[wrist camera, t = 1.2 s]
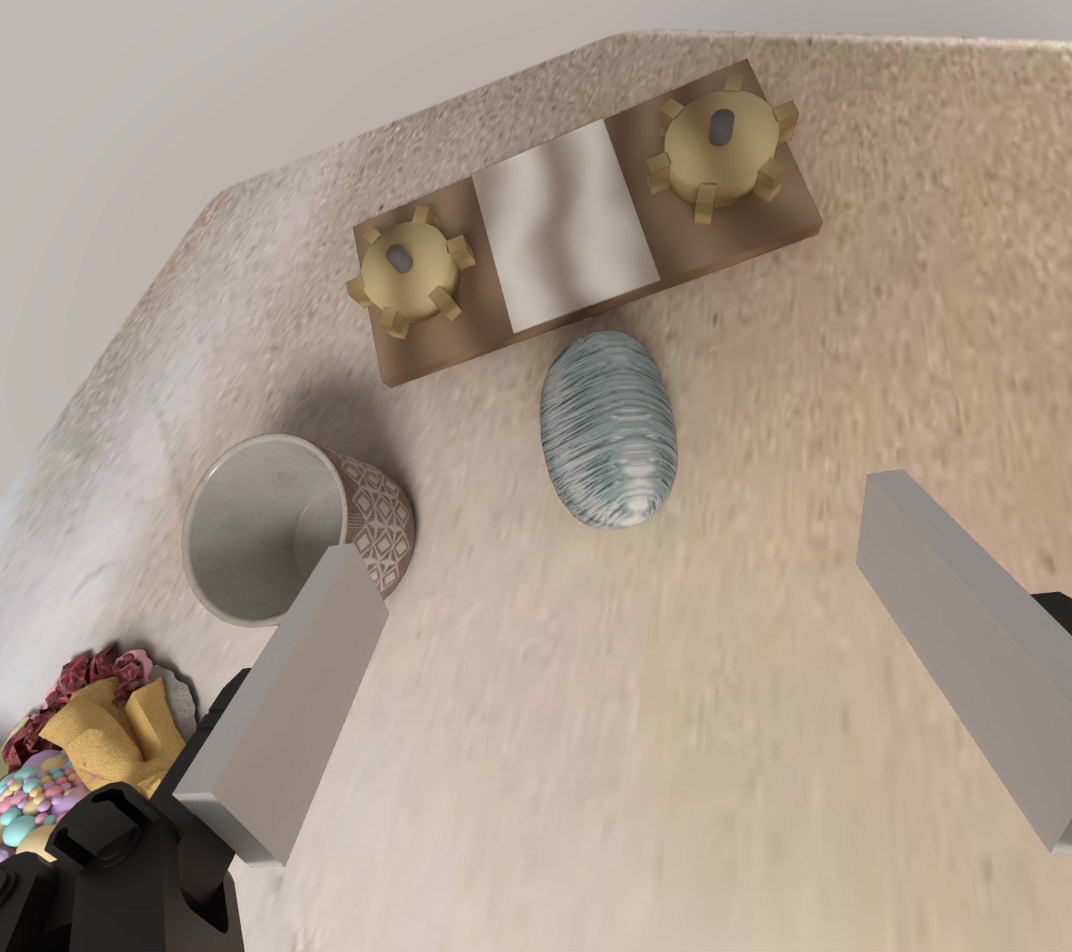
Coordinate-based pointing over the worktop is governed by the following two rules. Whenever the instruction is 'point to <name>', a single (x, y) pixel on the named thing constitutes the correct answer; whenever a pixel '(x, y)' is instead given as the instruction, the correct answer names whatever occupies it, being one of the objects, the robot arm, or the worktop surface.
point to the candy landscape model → (90, 742)
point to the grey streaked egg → (608, 431)
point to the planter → (288, 525)
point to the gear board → (583, 225)
